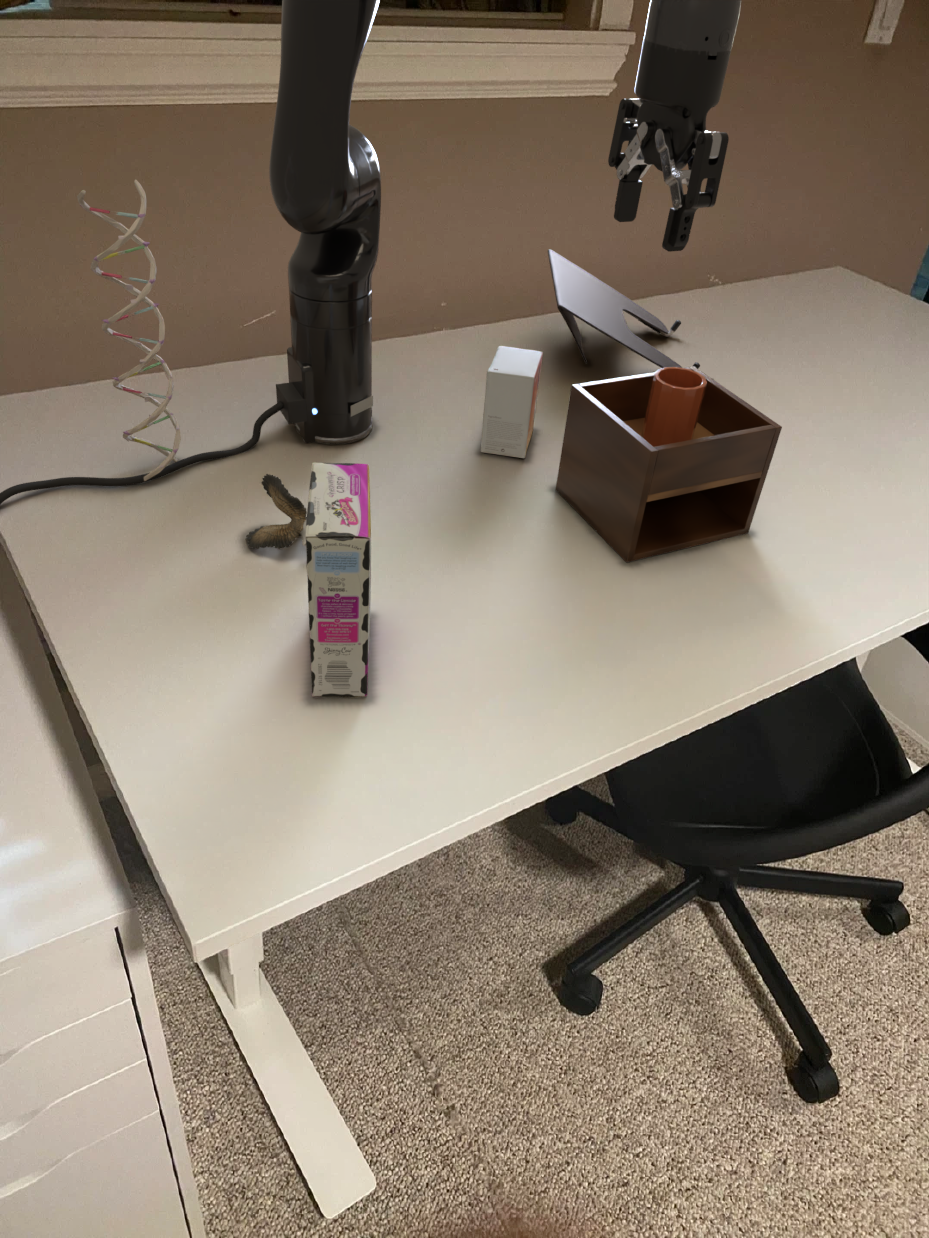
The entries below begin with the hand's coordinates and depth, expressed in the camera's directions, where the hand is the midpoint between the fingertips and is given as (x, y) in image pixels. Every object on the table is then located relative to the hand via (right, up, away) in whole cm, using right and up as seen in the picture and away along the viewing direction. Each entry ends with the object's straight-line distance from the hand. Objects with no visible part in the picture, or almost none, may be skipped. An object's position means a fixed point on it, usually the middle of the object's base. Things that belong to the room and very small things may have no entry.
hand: (647, 235), depth 88 cm
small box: (-12, -15, +25) cm, 32 cm away
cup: (+4, -19, +9) cm, 21 cm away
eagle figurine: (-35, -30, +5) cm, 46 cm away
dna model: (-52, -21, +14) cm, 58 cm away
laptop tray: (+5, +2, +48) cm, 48 cm away
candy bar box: (-29, -41, -8) cm, 50 cm away
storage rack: (+3, -25, +14) cm, 29 cm away
